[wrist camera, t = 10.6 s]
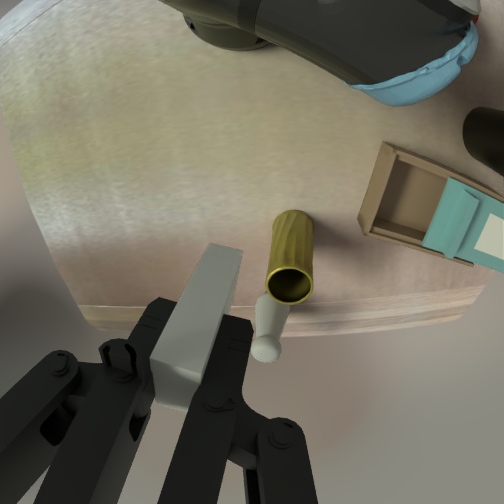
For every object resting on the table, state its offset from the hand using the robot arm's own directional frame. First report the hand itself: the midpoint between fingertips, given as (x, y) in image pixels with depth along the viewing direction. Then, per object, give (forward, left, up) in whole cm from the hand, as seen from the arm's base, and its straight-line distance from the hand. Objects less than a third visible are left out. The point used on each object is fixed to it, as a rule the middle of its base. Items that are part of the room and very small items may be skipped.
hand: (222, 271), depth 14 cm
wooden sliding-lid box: (+1, +24, -29) cm, 38 cm away
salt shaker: (+25, +5, -30) cm, 39 cm away
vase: (+11, +5, -30) cm, 32 cm away
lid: (+1, +33, -25) cm, 41 cm away
